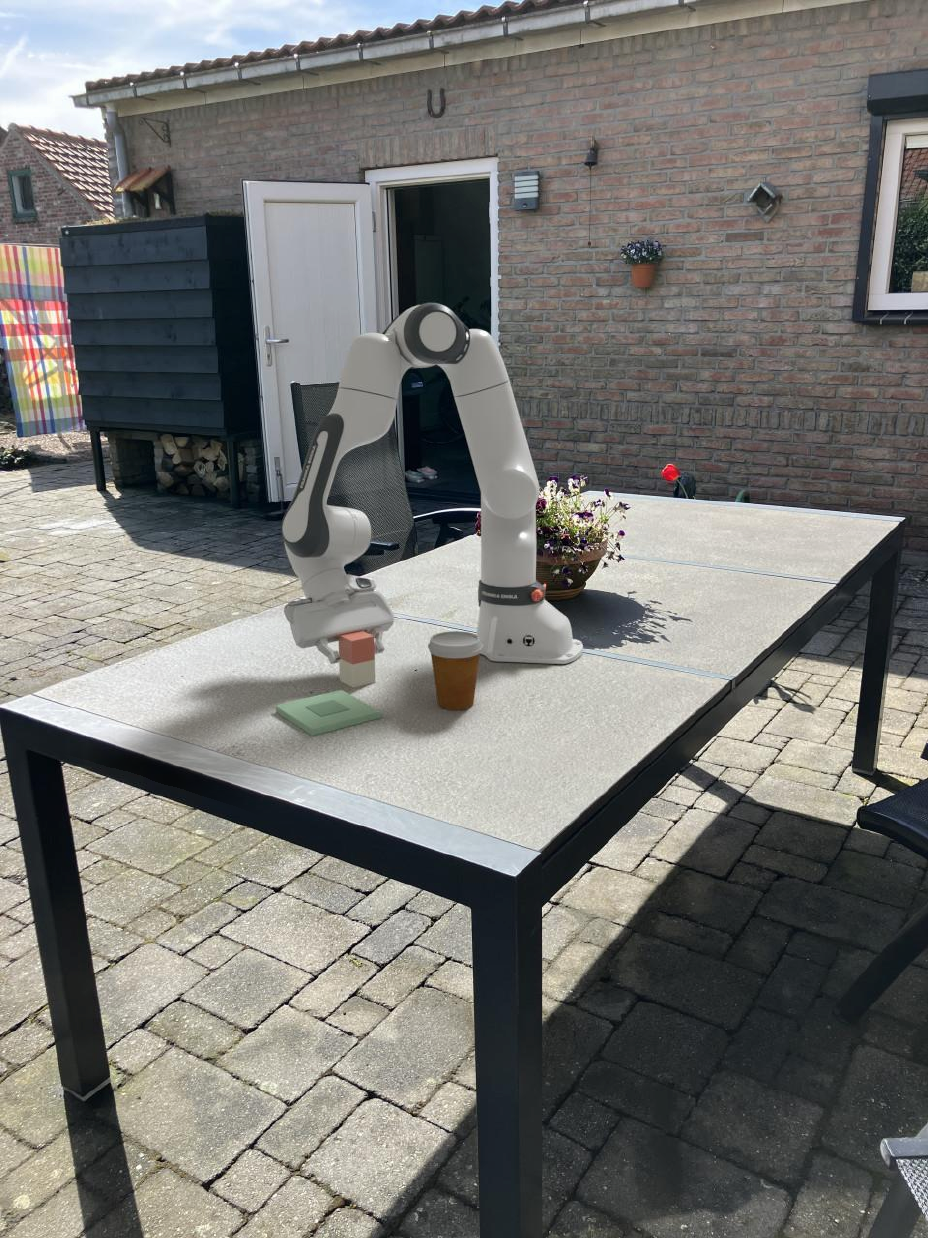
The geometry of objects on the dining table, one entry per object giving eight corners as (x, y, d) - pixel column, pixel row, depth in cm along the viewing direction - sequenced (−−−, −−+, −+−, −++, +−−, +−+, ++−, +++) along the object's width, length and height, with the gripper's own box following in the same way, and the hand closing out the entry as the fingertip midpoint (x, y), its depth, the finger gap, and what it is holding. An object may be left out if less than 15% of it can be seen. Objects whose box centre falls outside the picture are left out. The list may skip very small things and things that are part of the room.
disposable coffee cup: (464, 717, 174) (464, 650, 171) (417, 706, 179) (417, 641, 175) (492, 700, 182) (493, 636, 178) (447, 690, 187) (447, 627, 183)
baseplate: (341, 695, 184) (341, 689, 183) (380, 718, 174) (380, 710, 173) (275, 712, 176) (275, 704, 176) (312, 736, 166) (312, 728, 166)
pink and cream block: (362, 675, 194) (360, 630, 192) (375, 682, 191) (374, 636, 188) (339, 680, 192) (338, 634, 189) (353, 687, 188) (351, 641, 185)
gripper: (285, 594, 186) (313, 659, 181) (381, 577, 197) (410, 638, 193) (275, 612, 190) (302, 676, 186) (369, 595, 202) (397, 654, 197)
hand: (358, 656), depth 189 cm, fingers open, 8 cm apart
